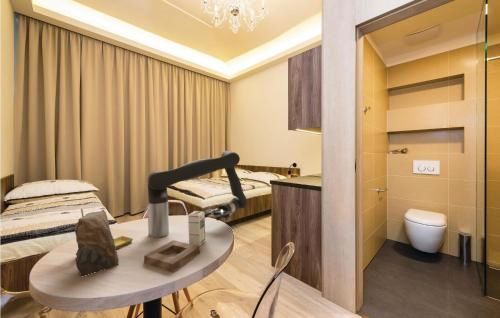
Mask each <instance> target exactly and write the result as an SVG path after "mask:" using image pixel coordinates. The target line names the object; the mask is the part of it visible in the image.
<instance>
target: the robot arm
mask: <svg viewBox="0 0 500 318" xmlns="http://www.w3.org/2000/svg"><path fill="white" fill-rule="evenodd" d="M240 160H241V158H240V155H239V154H238V153H237V152H235V151H232V150H225V151H223V152H221V155H220V156H219V157H213V158H210V157H209V158H201V159H197V160H194V161H190V162H188V163H185V164H183V165H181V166H179V167H177V168H173V169H169V170H165V171H161V170H154V171H152V172H150V174H149V175H148V178H147V192H148V193H147V196H148V217H147V227H148V236H149V237H150V238H162V237H165V236H168V235H169V234H170V227H169V226H170V223H169V222H170V221H169V195H168V187H171V186H172V185H173V186H174V185H175V184H177V183H180V182H185V181H189V180H192V179H195V178H196V179H197V178H199V177H202V176H205V175H208V174H212V173H215V172H217V171H220V170H223V169H224V170H225V172H226V176H227V179H228V183H229V186H230V191H231V195H232V196H233V198H232V199H231V200H230V201H226V202H224V203H222V204H220V205H219V206H217V208H215V209H213V208H210V209H206V210H204V214H205V219H206V218H208V217H212V218H213V217H216V221H220V220H221V219H225V220H227V219H229V218H230V217H232V214H234V213H235V212H237V211H238V210H239V209H247V207H248V203H249V202H248V199H247V196H246V195H245V192H244V191H243V187H242V183H241V180H240V178H239V176H238V174H237V172H236V169H235V167H236V166H238V164H239V162H240Z"/></svg>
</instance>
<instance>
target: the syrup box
mask: <svg viewBox="0 0 500 318" xmlns="http://www.w3.org/2000/svg"><path fill="white" fill-rule="evenodd" d="M187 218H188V220H187V221H188V222H187V223H188V242H189V243H188V244H192V245H196V246H202V244H204V242H205V241H206V218H205V211H204V210H193V212H191V213H189V214H188V215H187Z"/></svg>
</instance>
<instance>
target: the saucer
mask: <svg viewBox="0 0 500 318" xmlns="http://www.w3.org/2000/svg"><path fill="white" fill-rule="evenodd" d="M113 239H114V244H115V247H116V249H119V248H121V247H123V246H126V245H129V244H131V243H132V242H133V240H134V238H133V237H128V236H124V235H121V236H118V237H116V238H113Z"/></svg>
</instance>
